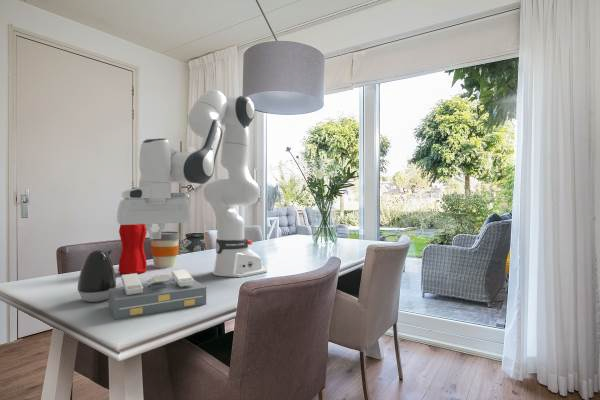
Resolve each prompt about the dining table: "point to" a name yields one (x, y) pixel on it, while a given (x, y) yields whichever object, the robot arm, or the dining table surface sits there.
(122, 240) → the water bottle
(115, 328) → the dining table surface
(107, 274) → the black rounded dome
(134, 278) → the rocker
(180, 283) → the rocker
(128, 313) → the console
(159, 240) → the reusable coffee cup
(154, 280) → the block
